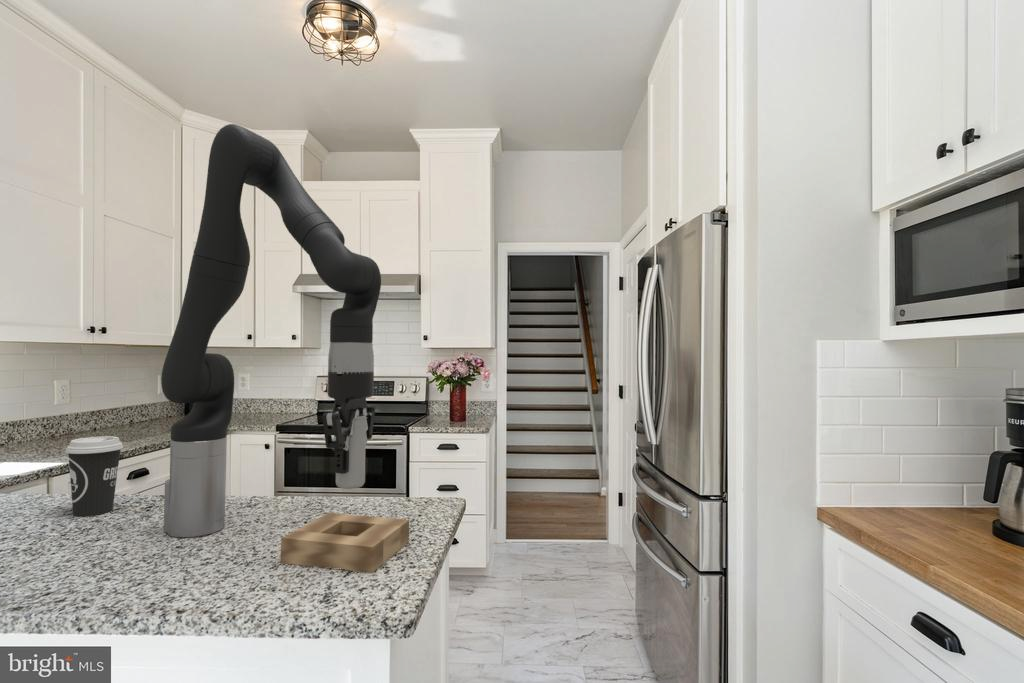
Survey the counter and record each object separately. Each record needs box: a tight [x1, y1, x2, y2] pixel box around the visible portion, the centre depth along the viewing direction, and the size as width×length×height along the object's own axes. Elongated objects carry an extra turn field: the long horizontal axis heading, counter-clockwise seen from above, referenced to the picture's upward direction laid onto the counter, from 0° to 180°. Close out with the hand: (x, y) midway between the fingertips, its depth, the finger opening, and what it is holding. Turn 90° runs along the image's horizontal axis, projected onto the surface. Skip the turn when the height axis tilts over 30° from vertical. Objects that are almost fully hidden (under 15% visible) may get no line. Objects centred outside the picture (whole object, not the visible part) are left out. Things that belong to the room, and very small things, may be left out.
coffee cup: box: [64, 435, 124, 518], centre depth 112 cm, size 10×10×15 cm
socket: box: [280, 512, 410, 574], centre depth 92 cm, size 16×14×4 cm
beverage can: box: [335, 415, 367, 490], centre depth 92 cm, size 5×5×12 cm
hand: (349, 469), depth 92 cm, fingers closed on beverage can, 5 cm apart
